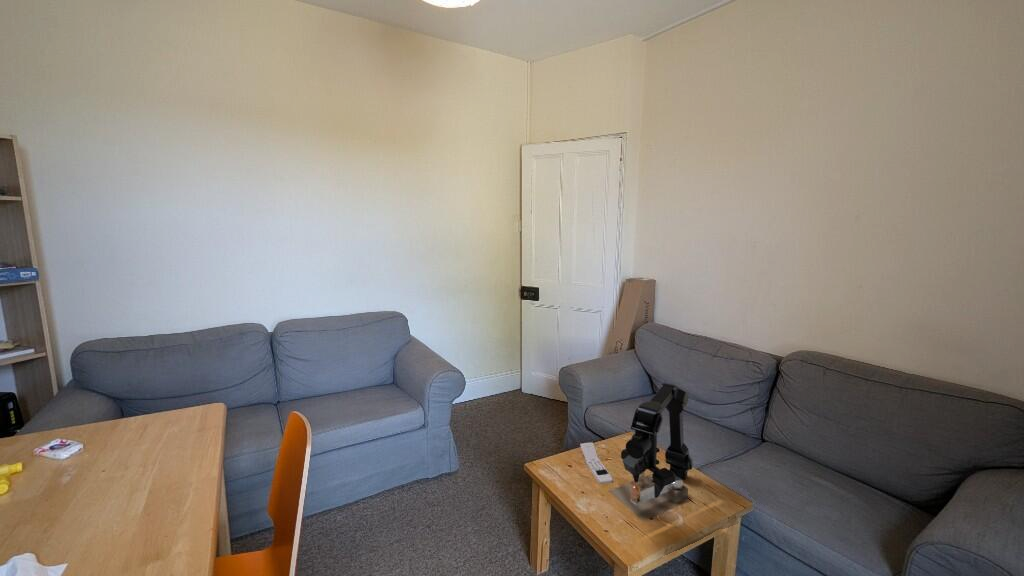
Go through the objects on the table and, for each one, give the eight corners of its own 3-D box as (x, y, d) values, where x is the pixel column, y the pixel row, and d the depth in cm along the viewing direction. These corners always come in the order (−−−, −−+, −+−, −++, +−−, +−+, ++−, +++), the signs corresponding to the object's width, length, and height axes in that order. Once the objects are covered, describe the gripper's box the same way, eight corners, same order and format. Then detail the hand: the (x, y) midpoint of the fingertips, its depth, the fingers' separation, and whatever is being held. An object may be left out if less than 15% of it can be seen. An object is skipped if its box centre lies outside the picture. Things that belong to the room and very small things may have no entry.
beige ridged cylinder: (638, 480, 159) (639, 465, 158) (646, 486, 155) (646, 471, 155) (630, 483, 157) (631, 468, 156) (638, 489, 154) (638, 474, 153)
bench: (651, 477, 163) (652, 464, 162) (689, 503, 147) (690, 489, 147) (607, 494, 153) (608, 481, 152) (643, 525, 137) (644, 509, 137)
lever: (674, 479, 152) (675, 464, 151) (685, 486, 148) (686, 471, 147) (626, 499, 142) (627, 483, 141) (637, 507, 137) (637, 491, 136)
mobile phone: (592, 441, 180) (616, 474, 156) (592, 454, 181) (616, 489, 157) (579, 443, 179) (601, 476, 155) (579, 456, 180) (601, 491, 156)
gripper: (608, 437, 137) (607, 481, 140) (650, 465, 121) (648, 514, 123) (634, 430, 142) (633, 472, 144) (677, 456, 126) (675, 503, 128)
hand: (646, 489), depth 135 cm, fingers open, 9 cm apart
